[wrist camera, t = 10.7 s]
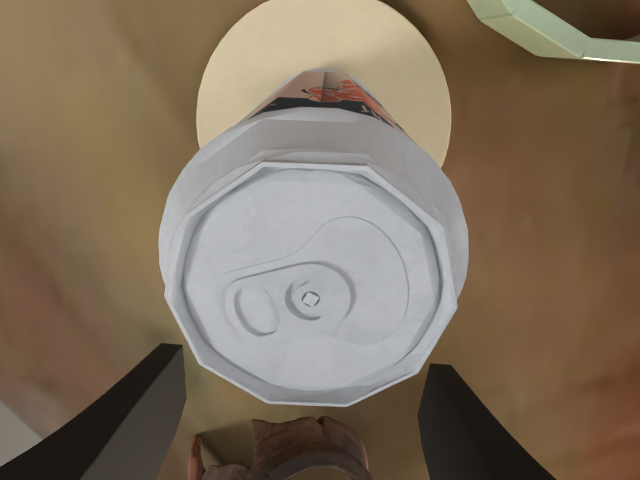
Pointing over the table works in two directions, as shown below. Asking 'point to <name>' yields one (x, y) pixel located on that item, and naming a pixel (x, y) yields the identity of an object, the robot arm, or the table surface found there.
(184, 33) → the table surface
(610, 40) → the ring
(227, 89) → the coaster
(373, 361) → the beer can
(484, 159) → the table surface
